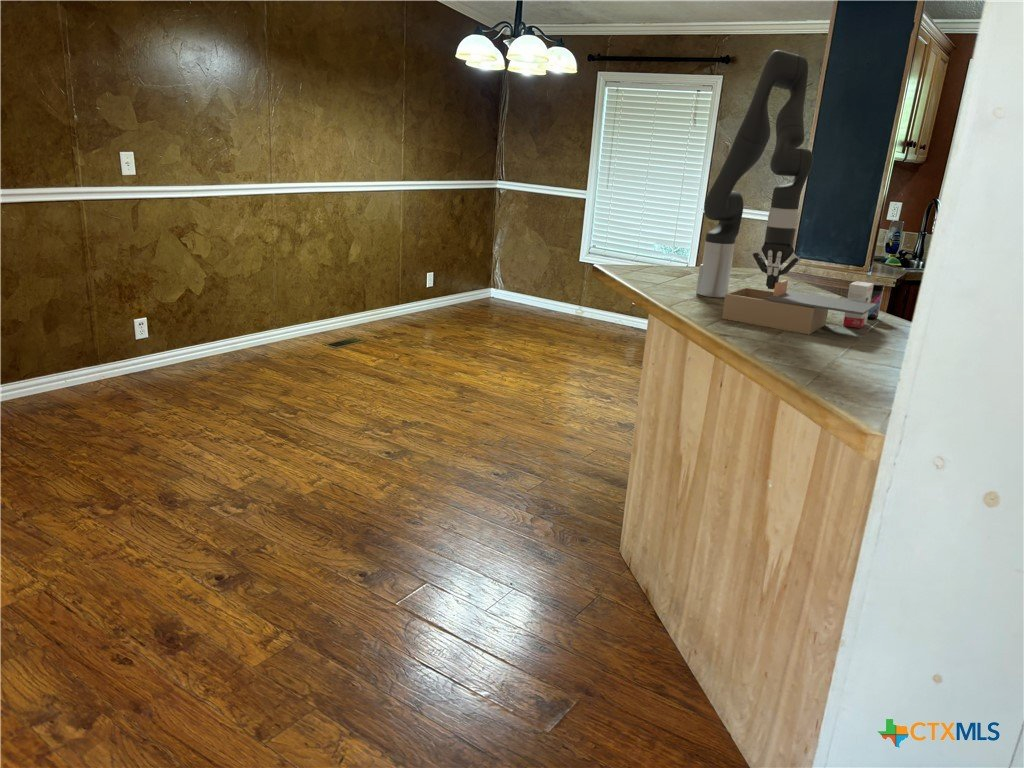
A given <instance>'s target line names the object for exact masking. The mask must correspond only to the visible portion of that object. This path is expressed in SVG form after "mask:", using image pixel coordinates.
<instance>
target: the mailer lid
mask: <svg viewBox="0 0 1024 768" xmlns="http://www.w3.org/2000/svg"><path fill="white" fill-rule="evenodd" d="M788 284H789V280H787V279H783V280H779V281H778V282H777V283H775V289H773V292H774V295H771V296H769V297H766V300H772V301H778V302H784V303H791V304H797V305H803V306H809V307H816V308H822V309H828V311H833V312H834V311H835V312H841V313H845V312H847V313H853V314H859V315H864V314H865V313H867V312H868V311H870V310H871V309H873V308H875V307H876V306H877V304H874V303H867V302H861V301H854V300H847V298H839V297H832V296H826V295H820V294H814V293H813V294H812V293H805V292H801V291H792V290H787V288H788Z"/></svg>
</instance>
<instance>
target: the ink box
mask: <svg viewBox="0 0 1024 768" xmlns="http://www.w3.org/2000/svg"><path fill="white" fill-rule="evenodd" d="M873 285H874V283H867V282H860V281H854V282H851V283H850V284H849V286H848V292H847V293H848V294H847V298H846V299H847V300H854V301H861V302H867V303H870V302H871V296H872V291H873ZM868 312H869V311H868ZM868 312H867V313H865V314H864V315H859V314H853V313H847V312H844V315H843V316H844V317H843V323H842V326H843V327H850V328H858V329H861V328H862V327H864V326H865V325H866V324H867V323H868V320H867V318H868Z"/></svg>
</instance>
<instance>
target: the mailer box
mask: <svg viewBox="0 0 1024 768" xmlns="http://www.w3.org/2000/svg"><path fill="white" fill-rule="evenodd" d="M771 295H774V291H771V290H764V289H758V288H752V287H745V286H744V287H742V288H739V289H737V290H733V291H730V292H728V293H727V294H725V297H724V301H723V308H722V315H721V319H722V320H727V319H728V320H729V321H732V320H733V322H738V321H739V322H738V323H743V324H749V325H754V324H755V325H756V326H761V327H765V328H766V327H767V328H773V329H777V330H781V331H782V330H783V331H789V332H793V333H799V334H806V335H811V334H812V333H814V332H816V331H817V330H819V329H821V328H823V327H824V326H826V324H827V318H828V314H829V310H828V309H822V308H816V307H809V306H803V305H797V304H791V303H784V302H778V301H772V300H766V297H769V296H771Z"/></svg>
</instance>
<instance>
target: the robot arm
mask: <svg viewBox="0 0 1024 768" xmlns="http://www.w3.org/2000/svg"><path fill="white" fill-rule="evenodd" d="M808 76H809V63H808V60H807V58H806V56H802V55H800V54H797V53H794V52H788V51H784V50H781V49H780V50H779V49H775V50H773V51H772V52H771V53H770V55H768V57H767V59H766V61H765V63H764V66H763V68H762V71H761V74H760V75H759V80H758V82H757V85H756V88H755V91H754V94H753V96H752V99H751V102H750V103H749V107H748V108H747V112H746V113H745V116H744V118H743V120H742V122H741V125H740V127H739V128H738V131H737V133H736V136H735V137H734V140H733V142H732V145H731V148H730V150H729V152H728V154H727V157H726V160H724V162H723V165H722V167H721V170H720V172H719V173H718V175H717V177H716V179H715V181H714V182H713V184H712V186H711V188H710V190H709V192H708V194H707V196H706V198H705V200H704V205H703V213H704V216H705V217H706V219H708V220H710V221H718V224H717V225H716V226H715V227H714V228H713V229H711V230H709V231H707V232H706V234H705V241H704V247H703V257H702V264H700V265H699V267H698V276H697V284H696V293H695V294H696V295H701V296H704V297H709V298H725V294H727V293H729V286H730V279H731V272H732V265H733V259H734V258H733V257H734V251H735V244H736V239H737V237H738V235H739V233H740V229H741V222H742V217H743V214H744V199H743V196H742V194H741V193H740V192H739V191H736V190H733V189H734V188H735V186H736V184H737V183H738V181H739V180H740V179H741V178H743V176H744V175H746V173H747V172H748V171H749V170H750V169H752V167H754V166H755V165H756V164H757V162H759V160H760V159H761V157H762V155H763V153H764V151H765V148H766V147H767V145H768V142H769V140H770V137H771V126H770V125H771V124H770V117H769V109H768V103H769V98H770V95H771V92H772V90H773V87H774V88H778V89H781V90H782V89H783V90H788V91H789V95H790V97H789V98H788V100H787V102H786V103H784V105H783V106H782V107H781V109H780V111H778V114H777V117H776V120H775V133H776V135H775V136H776V139H775V146H774V150H773V154H772V157H771V159H770V163H769V164H770V170H771V172H772V173H773V174H774V175H776V176H782V177H783V176H784V177H794V178H793V180H792V181H790V183H787V184H780V185H776V186H775V187H774V189H773V192H772V198H771V204H770V209H769V212H768V216H767V223H766V227H765V228H766V229H765V235H764V242H763V245H762V246H761V249H760V250H758V251H757V252H754V253H753V254H752V256H753V258H754V260H755V262H756V264H757V266H758V268H759V270H760V271H761V272H762V273H765V274H766V282H765V286H766V287H767V290H774V289H775V283H777V282H780V276H783V275H786V274H788V273H789V272H790V271H791V270H792V269H793V268H794V267H795V266H796V265H797V264H798V263H799V262H800V261H801V260H802V259H801V257H799V256H797V255H796V254H795V249H794V243H795V242H794V241H795V236H796V229H797V226H798V216H799V215H798V214H799V206H800V200H801V195H802V191H803V188H804V186H805V184H806V181H807V179H808V177H809V175H810V172H811V170H812V169H813V167H814V161H815V160H814V159H815V158H814V154H813V151H811V150H810V149H808V148H799V147H801V146H802V144H803V143H804V141H805V126H804V125H805V122H804V108H805V107H804V106H805V101H806V100H805V99H806V92H807V87H808V86H807V84H808ZM764 258H765V260H766V261H767V264H766V261H765V260H764ZM787 261H789V262H788V264H787V265H785V266H784V263H785V262H787ZM783 266H784V267H783Z"/></svg>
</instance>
